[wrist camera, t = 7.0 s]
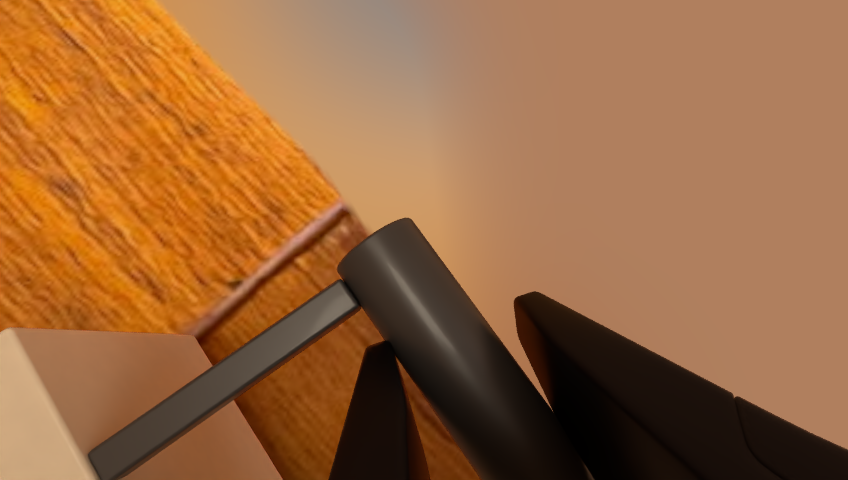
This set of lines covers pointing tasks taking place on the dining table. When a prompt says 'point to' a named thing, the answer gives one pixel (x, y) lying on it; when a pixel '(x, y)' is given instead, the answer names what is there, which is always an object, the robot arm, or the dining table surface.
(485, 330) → the drawer
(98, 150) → the dining table surface
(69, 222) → the dining table surface
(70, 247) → the dining table surface
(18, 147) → the dining table surface
